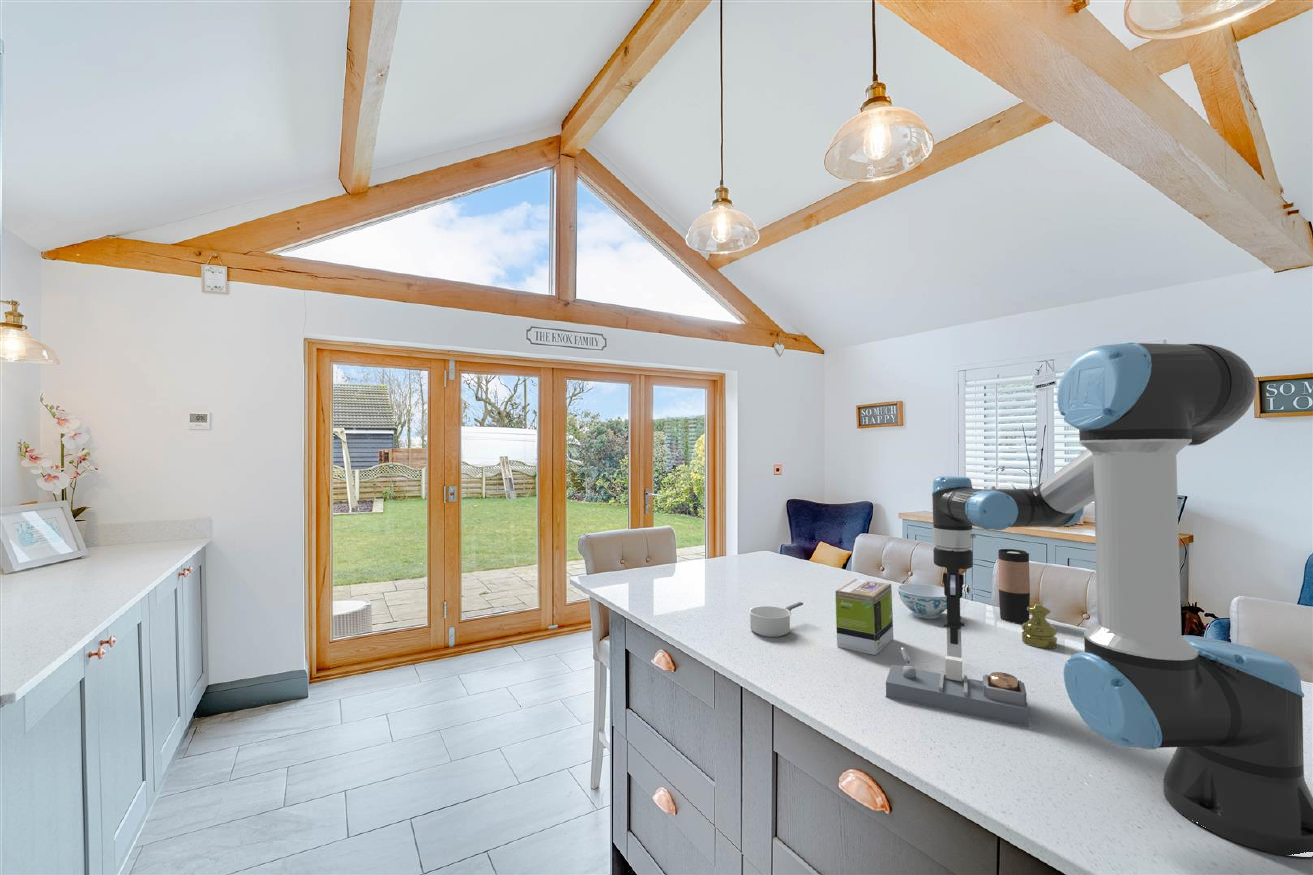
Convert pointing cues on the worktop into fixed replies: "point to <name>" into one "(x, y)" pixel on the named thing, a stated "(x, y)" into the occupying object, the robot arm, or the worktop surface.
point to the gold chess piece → (1039, 628)
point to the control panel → (958, 694)
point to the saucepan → (771, 620)
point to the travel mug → (1014, 585)
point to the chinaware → (923, 599)
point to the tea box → (864, 616)
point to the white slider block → (953, 668)
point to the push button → (1003, 681)
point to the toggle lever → (905, 655)
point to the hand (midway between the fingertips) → (954, 657)
